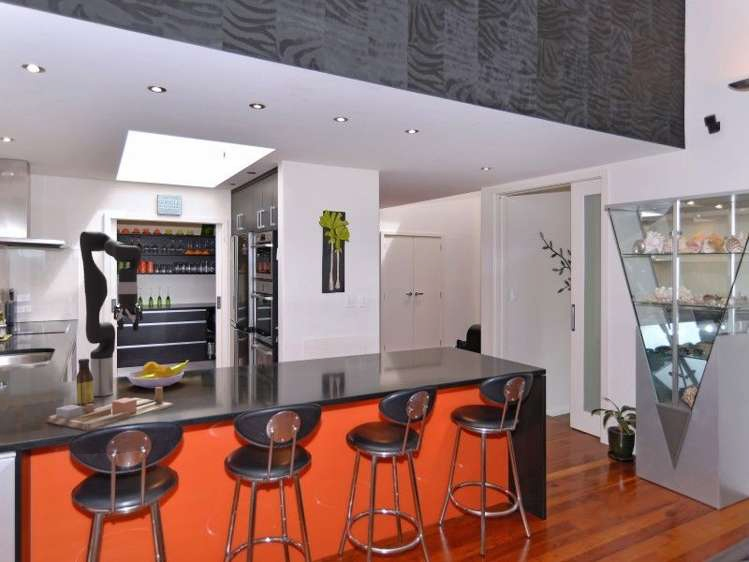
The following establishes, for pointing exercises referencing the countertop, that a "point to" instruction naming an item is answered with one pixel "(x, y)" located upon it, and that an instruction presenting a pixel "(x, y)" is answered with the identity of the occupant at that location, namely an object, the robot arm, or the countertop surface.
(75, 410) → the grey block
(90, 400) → the sauce bottle
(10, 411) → the countertop surface
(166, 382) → the fruit bowl
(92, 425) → the wooden backboard
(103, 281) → the robot arm
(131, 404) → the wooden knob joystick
